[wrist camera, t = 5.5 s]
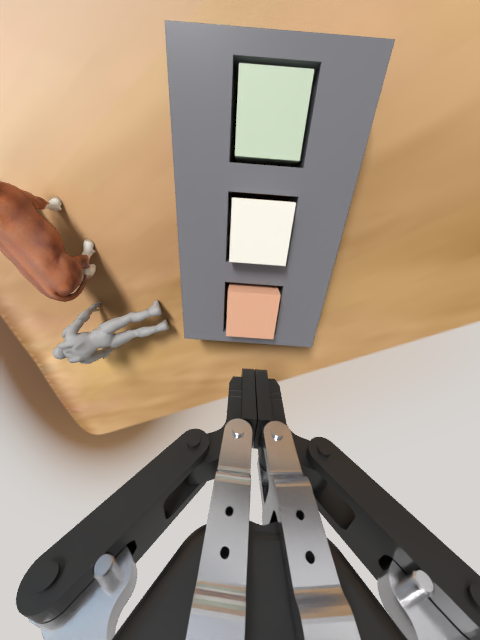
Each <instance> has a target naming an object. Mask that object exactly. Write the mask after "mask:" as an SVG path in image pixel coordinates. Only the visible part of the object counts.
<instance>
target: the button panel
mask: <svg viewBox="0 0 480 640" xmlns="http://www.w3.org/2000/svg"><path fill="white" fill-rule="evenodd" d="M165 34H166V50H167V66H168V82H169V98H170V114H171V130H172V146H173V162H174V178H175V194H176V210H177V226H178V242H179V258H180V274H181V290H182V306H183V322H184V338H188V339H202V340H216V341H230V342H244V343H258V344H272V345H286V346H300V347H312V344H313V340H314V337H315V333H316V329H317V326H318V322H319V318H320V314H321V311H322V307H323V303H324V300H325V296H326V292H327V289H328V285H329V281H330V278H331V274H332V270H333V266H334V263H335V259H336V255H337V252H338V248H339V244H340V241H341V237H342V233H343V229H344V226H345V222H346V218H347V215H348V211H349V207H350V204H351V200H352V196H353V193H354V189H355V185H356V181H357V178H358V174H359V170H360V167H361V163H362V159H363V156H364V152H365V148H366V145H367V141H368V137H369V133H370V130H371V126H372V122H373V119H374V115H375V111H376V108H377V104H378V100H379V96H380V93H381V89H382V85H383V82H384V78H385V74H386V71H387V67H388V63H389V60H390V56H391V52H392V48H393V45H394V41H395V39H385V38H373V37H361V36H349V35H337V34H325V33H313V32H301V31H289V30H277V29H265V28H253V27H241V26H229V25H217V24H205V23H193V22H181V21H169V20H165ZM239 63H247V64H259V65H272V66H284V67H296V68H308V69H314V75H313V81H312V87H311V94H310V100H309V106H308V112H307V119H306V125H305V131H304V137H303V143H302V150H301V156H300V161H299V162H297V163H296V164H295V167H284V166H271V165H259V164H246V163H233V139H234V115H235V91H236V82H237V83H238V73H239ZM231 192H238V193H251V194H264V195H277V196H290V201H289V202H296V206H295V212H294V218H293V224H292V230H291V236H290V242H289V248H288V254H287V260H286V266H279V265H265V264H252V263H238V262H229V254H230V252H229V234H230V210H231ZM227 282H234V283H248V284H261V285H275V286H278V289H279V292H280V295H281V296H280V302H279V308H278V314H277V320H276V326H275V332H274V338H273V339H261V338H247V337H233V336H226V322H227V315H226V305H227Z"/></svg>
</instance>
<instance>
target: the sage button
mask: <svg viewBox="0 0 480 640" xmlns="http://www.w3.org/2000/svg"><path fill="white" fill-rule="evenodd" d="M313 75H314V69H308V68H296V67H284V66H272V65H259V64H247V63H239V73H238V95H237V117H236V139H235V158H236V161H241V162H253V163H266V164H279V165H292V166H293V165H294V164H296V163H297V162H299V161H300V156H301V150H302V143H303V137H304V131H305V125H306V119H307V112H308V106H309V100H310V94H311V87H312V81H313Z"/></svg>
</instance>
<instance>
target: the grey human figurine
mask: <svg viewBox="0 0 480 640" xmlns="http://www.w3.org/2000/svg"><path fill="white" fill-rule="evenodd" d="M99 304H101V302H97V303H95V304H92V305H91V306H90V308H89V309H87V310H85V311H83V312H81V313H80V314H79V316H78V318H77V319H76V320H75V321H74V322H73V323H72V324H71V325H69V326H68V327H66V328H65V329H64V331H63V335H62V337H63V338H64V337H65V341H63V342H62V343H60V344H58V345H57V347H56V348H55V349H54V350H53V355H54V357H55V358H57V359H64V358H66V357H67V358H69V359H67V360H68V361H69V362H71V363H75V362H81V363H85V364H90V363H92V362H94V361H96V360H98V359H100V358H102V357H103V359H104V358H105V357H107V356H108V355H109V354H110V353H111V352H112V351H113V350H114V349H116V348H118V347H119V346H121V345H123V344H125V343H127V342H129V341H130V340H131V339H133V338H135V337H147V336H149V335H151V334H154V333H158V332H159V331H165V330H169V329H170V328H169V325H168V323H167V320H166V319H165V320H163V321H162V322H161V323H159V324H158V325H154V326H150V327H141V328H138V329H136V330H127V331H124V332H120V333H118V334H114V331H116V330H118V329H120V328H122V327H125V326H126V325H127V324H128V323H130V322H140V321H143V320H144V319H146V318H149V317H151V316H160V315H162V312H161V306H160V304H159V302H158V300H155V302H154V303H153V305H152V306H150V307H149V310H147V309H146V310H144V311H142V312H130V313H128V314H126V315H124V316H121V317H119V318H118V317H116V318H113V319H110V320H108V321H106V322H104V323H102V324H100V325H98V327H99V329H95V330H93V331H92V332H90V333H88V332H82V333H77V332H78V331H79V329H80V328H81V327H82V325H83V324H84V322H86V321H87V320H88V319H89V318H90V315H91V314H92V312H94V311H99V310H100V309H97V307H98V306H101V305H99ZM98 348H103V349H102V350H97V349H98ZM96 350H97V351H96Z"/></svg>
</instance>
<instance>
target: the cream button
mask: <svg viewBox="0 0 480 640" xmlns="http://www.w3.org/2000/svg"><path fill="white" fill-rule="evenodd" d="M295 206H296V202H289V201H276V200H263V199H250V198H237V197H233V198H232V208H231V231H230V254H229V262H238V263H252V264H265V265H279V266H286V260H287V254H288V248H289V242H290V236H291V230H292V224H293V218H294V212H295Z"/></svg>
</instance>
